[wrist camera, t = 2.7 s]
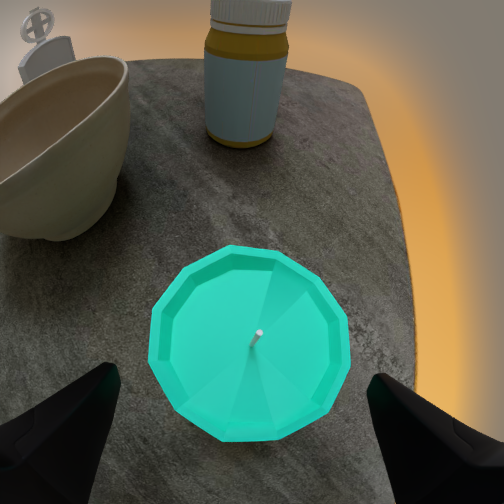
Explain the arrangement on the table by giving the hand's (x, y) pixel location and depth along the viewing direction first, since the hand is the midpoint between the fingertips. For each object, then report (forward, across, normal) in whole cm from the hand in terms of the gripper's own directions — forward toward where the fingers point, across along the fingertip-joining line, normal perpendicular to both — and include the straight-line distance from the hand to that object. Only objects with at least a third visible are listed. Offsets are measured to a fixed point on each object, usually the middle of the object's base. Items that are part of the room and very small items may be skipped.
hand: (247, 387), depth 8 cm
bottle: (+23, +1, -10) cm, 25 cm away
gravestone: (+32, +33, -19) cm, 50 cm away
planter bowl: (+16, +16, -3) cm, 23 cm away
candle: (+7, 0, +6) cm, 9 cm away
